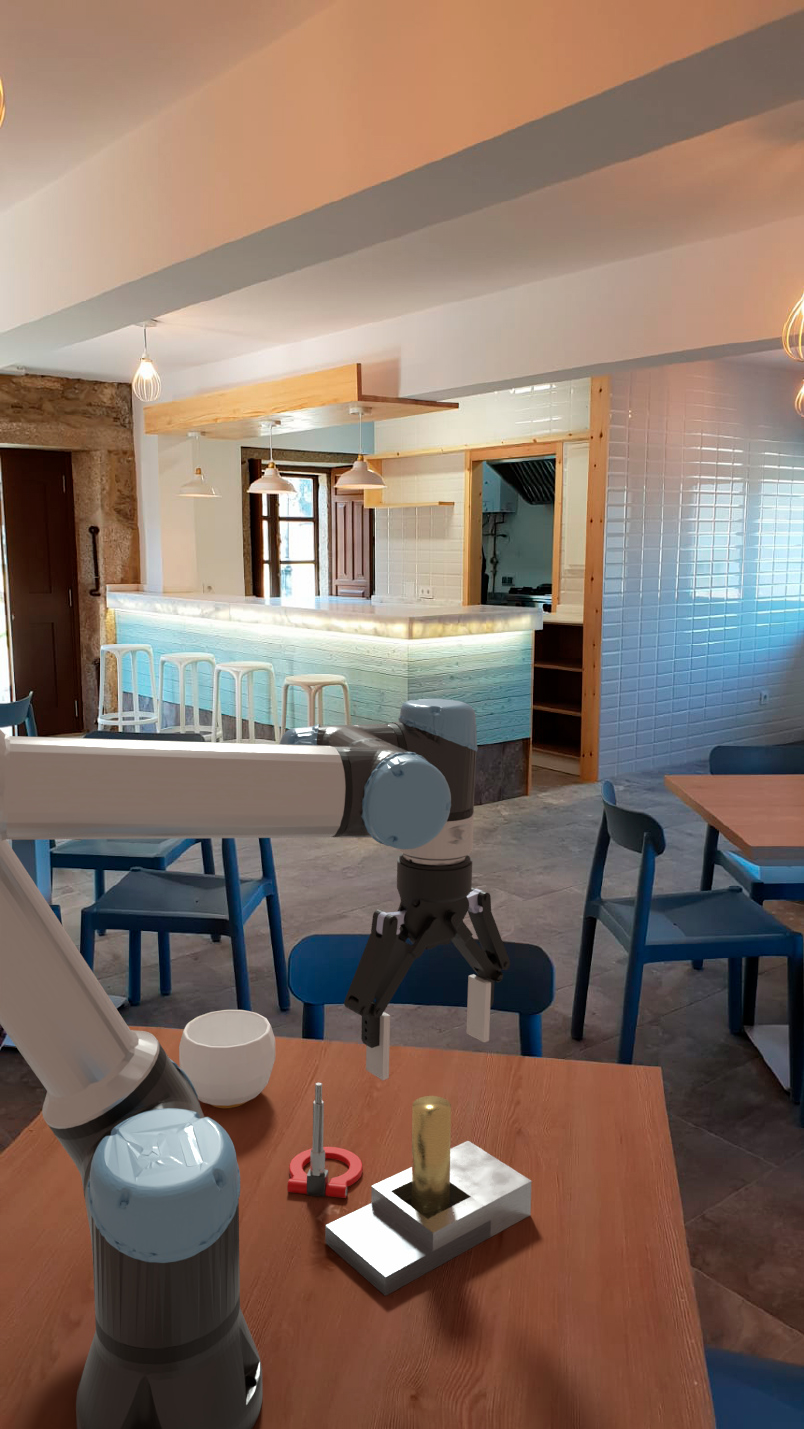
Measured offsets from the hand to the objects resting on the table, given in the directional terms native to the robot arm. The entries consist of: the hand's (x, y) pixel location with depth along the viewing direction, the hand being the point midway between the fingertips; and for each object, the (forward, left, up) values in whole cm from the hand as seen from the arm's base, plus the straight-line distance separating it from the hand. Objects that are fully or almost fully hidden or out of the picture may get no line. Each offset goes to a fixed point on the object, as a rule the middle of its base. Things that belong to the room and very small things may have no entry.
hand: (429, 1055), depth 107 cm
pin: (0, 0, -20) cm, 20 cm away
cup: (-3, +37, -20) cm, 42 cm away
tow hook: (-3, +15, -20) cm, 25 cm away
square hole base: (0, 0, -20) cm, 20 cm away
